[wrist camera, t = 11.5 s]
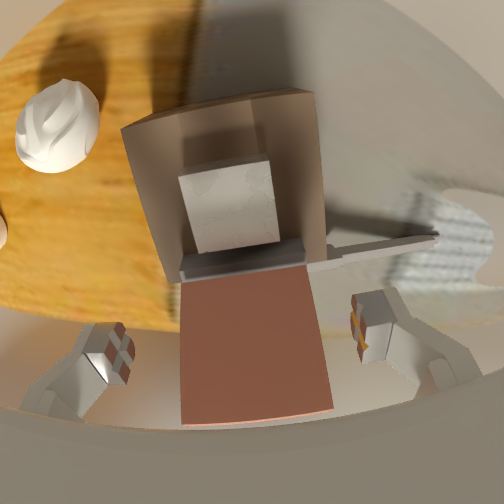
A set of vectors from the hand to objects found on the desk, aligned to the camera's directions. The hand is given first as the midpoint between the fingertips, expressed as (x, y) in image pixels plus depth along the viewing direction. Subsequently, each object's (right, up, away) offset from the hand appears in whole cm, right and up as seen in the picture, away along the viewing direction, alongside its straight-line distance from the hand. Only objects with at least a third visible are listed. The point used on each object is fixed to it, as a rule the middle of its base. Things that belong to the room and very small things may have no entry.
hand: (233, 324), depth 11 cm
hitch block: (-1, +10, +17) cm, 19 cm away
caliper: (+12, +4, +22) cm, 25 cm away
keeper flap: (0, -3, +7) cm, 7 cm away
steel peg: (-1, +10, +16) cm, 18 cm away
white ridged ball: (-15, +15, +14) cm, 25 cm away
